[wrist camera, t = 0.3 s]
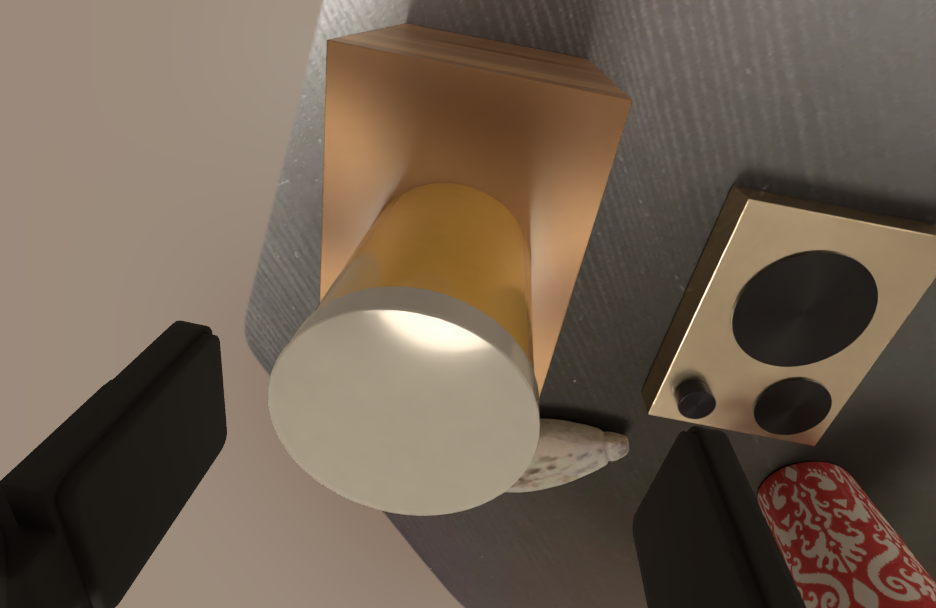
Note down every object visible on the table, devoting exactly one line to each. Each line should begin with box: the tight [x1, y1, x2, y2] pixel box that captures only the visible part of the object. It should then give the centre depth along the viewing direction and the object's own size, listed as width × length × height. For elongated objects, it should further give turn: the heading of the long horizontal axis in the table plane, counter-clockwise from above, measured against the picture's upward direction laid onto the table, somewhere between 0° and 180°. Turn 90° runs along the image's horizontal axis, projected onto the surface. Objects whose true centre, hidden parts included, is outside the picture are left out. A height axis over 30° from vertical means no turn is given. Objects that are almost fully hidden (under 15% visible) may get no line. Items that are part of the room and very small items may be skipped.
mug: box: [757, 462, 936, 608], centre depth 37 cm, size 13×9×14 cm
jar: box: [268, 183, 540, 516], centre depth 16 cm, size 7×7×9 cm
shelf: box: [320, 23, 632, 397], centre depth 26 cm, size 14×10×13 cm
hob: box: [641, 185, 936, 446], centre depth 33 cm, size 16×12×4 cm
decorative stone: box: [505, 418, 629, 492], centre depth 41 cm, size 6×16×3 cm, turn 104°
